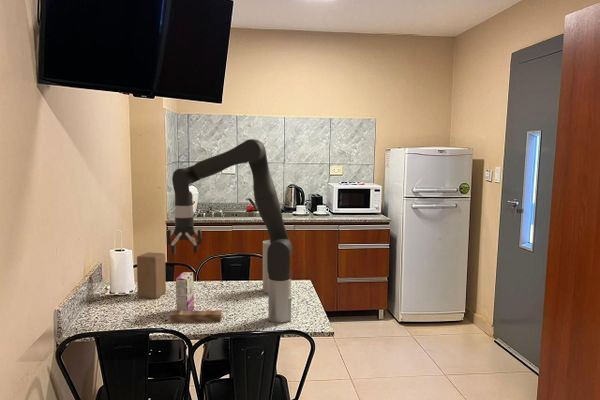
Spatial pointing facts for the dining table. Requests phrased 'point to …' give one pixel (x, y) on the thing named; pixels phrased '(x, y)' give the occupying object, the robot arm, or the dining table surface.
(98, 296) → the dining table surface
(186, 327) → the dining table surface
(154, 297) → the wooden block
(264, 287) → the cylinder vase
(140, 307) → the dining table surface
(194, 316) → the guide board
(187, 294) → the candy bar box
